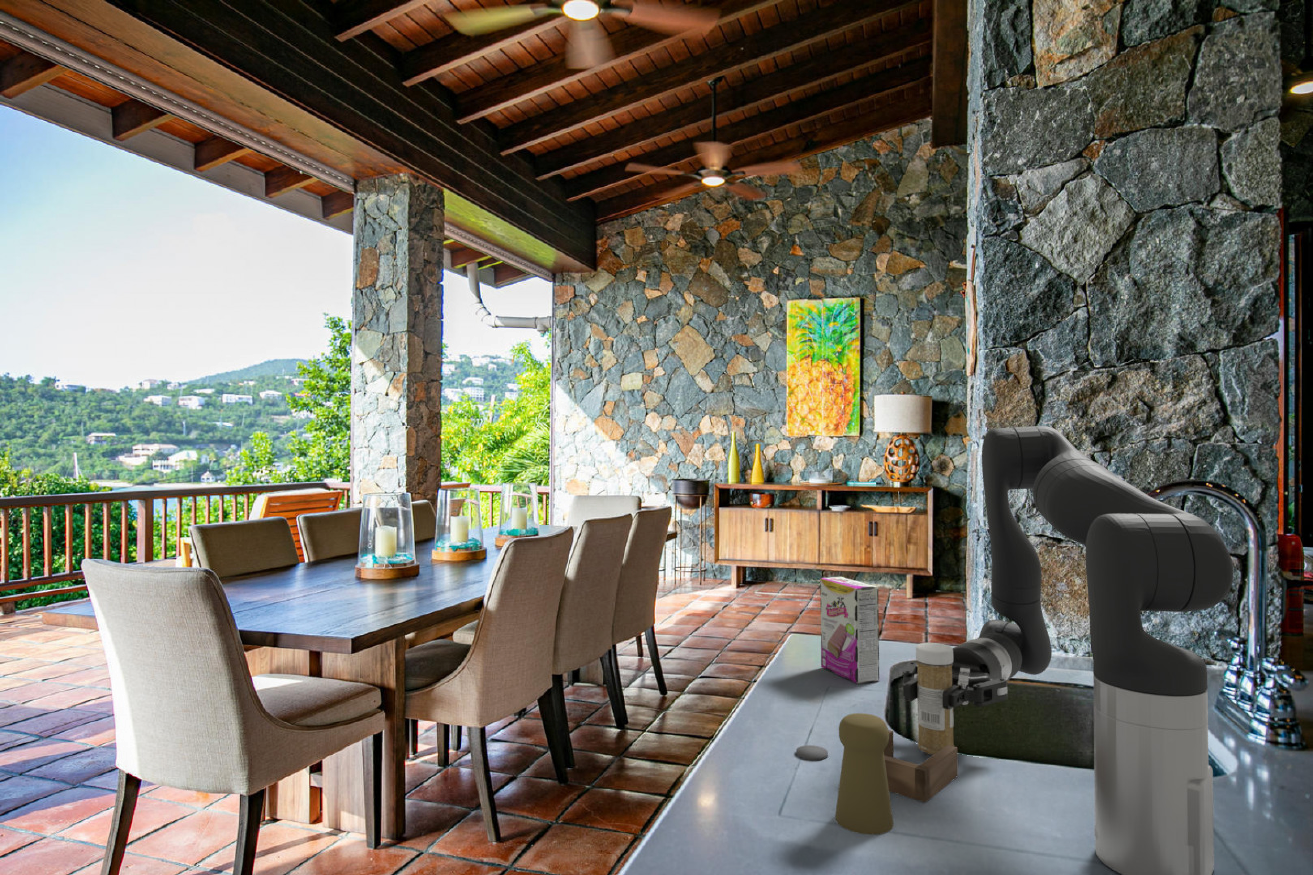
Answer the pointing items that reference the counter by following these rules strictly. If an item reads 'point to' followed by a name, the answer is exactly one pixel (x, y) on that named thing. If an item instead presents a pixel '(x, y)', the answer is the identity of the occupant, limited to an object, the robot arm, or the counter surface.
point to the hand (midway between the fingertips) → (926, 696)
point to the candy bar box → (850, 629)
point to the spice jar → (934, 696)
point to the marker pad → (812, 752)
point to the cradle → (920, 773)
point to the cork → (864, 776)
